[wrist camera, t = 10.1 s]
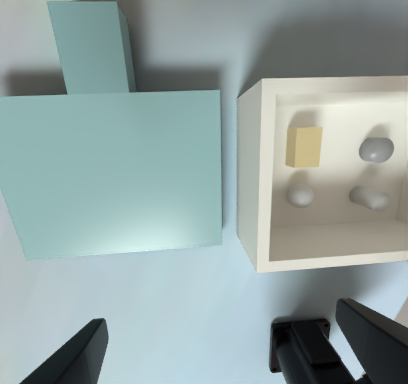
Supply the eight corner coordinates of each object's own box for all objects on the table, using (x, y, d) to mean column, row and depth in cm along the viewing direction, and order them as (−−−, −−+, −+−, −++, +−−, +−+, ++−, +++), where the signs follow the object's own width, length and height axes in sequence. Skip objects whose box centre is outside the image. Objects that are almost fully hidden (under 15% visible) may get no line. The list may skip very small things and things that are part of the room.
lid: (217, 231, 21) (222, 244, 19) (45, 243, 20) (26, 260, 18) (213, 19, 15) (219, 0, 13) (-26, 21, 14) (-67, 1, 12)
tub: (393, 223, 21) (471, 255, 15) (236, 234, 20) (256, 272, 14) (419, 93, 18) (528, 73, 12) (236, 98, 17) (262, 78, 11)
